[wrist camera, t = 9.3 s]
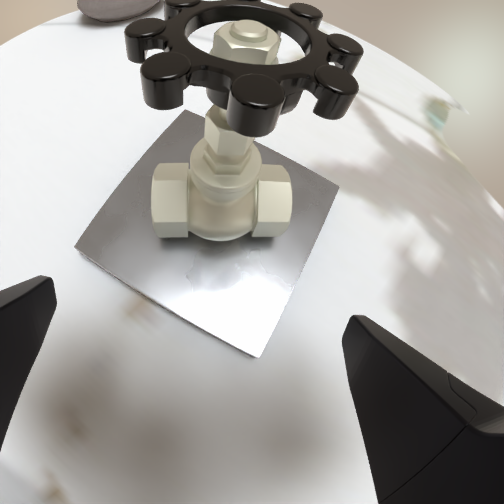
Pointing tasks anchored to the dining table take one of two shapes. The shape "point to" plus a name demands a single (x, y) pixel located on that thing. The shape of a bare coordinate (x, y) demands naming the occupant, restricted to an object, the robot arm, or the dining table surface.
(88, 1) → the coffee pot
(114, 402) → the dining table surface
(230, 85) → the valve
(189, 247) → the steel seat plate
